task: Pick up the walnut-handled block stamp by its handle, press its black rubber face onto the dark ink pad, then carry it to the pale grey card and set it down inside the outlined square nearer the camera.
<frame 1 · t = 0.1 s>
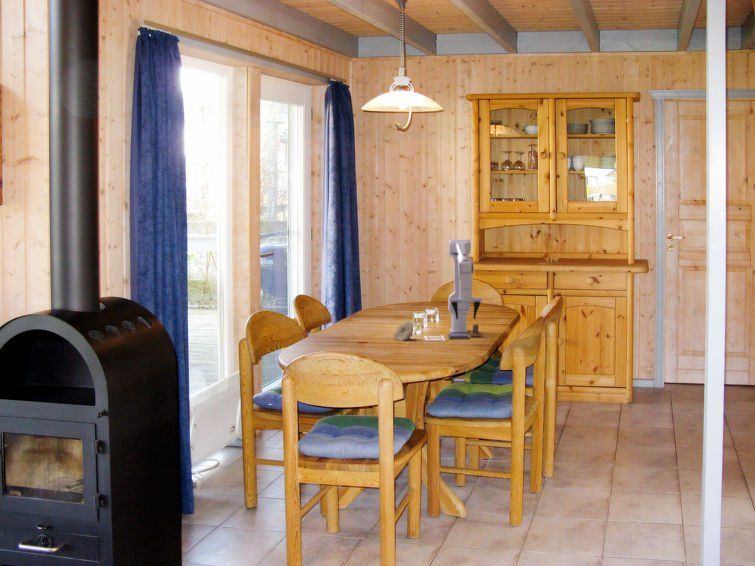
hand: (465, 318, 417), 10 cm above the table, fingers open, 7 cm apart
ink pad: (458, 337, 428), on the table
sheet: (434, 338, 426), on the table
stone: (403, 339, 425), on the table
stamp: (475, 336, 430), on the table
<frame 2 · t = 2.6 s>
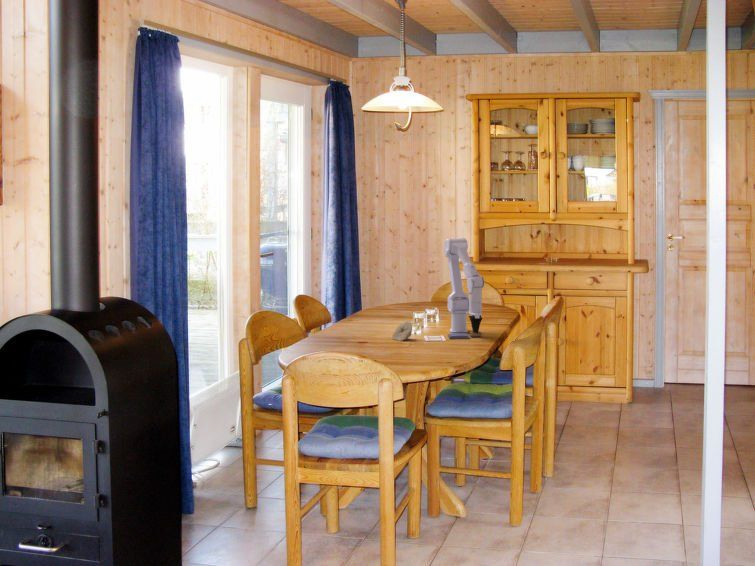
hand: (475, 331, 429), 2 cm above the table, fingers closed on stamp, 3 cm apart
stamp: (475, 336, 430), on the table, touching gripper
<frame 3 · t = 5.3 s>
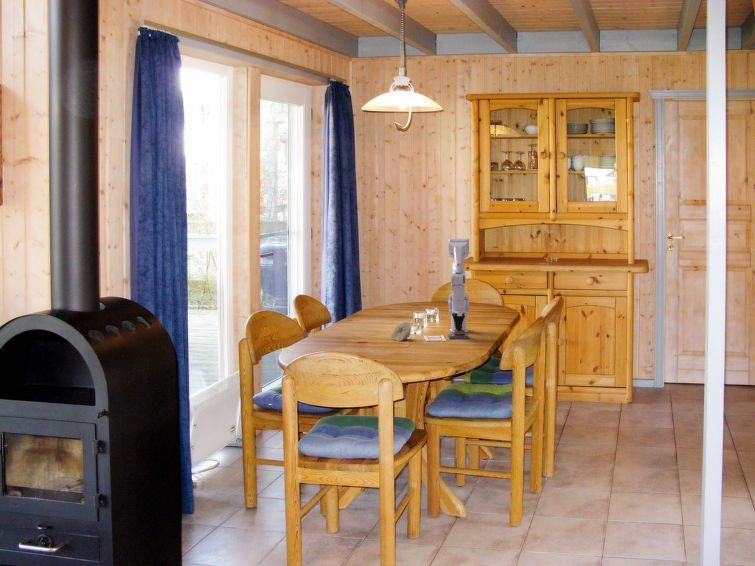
hand: (458, 329, 428), 4 cm above the table, fingers closed on stamp, 3 cm apart
stamp: (459, 334, 428), point 1 cm above the table, touching gripper, ink pad
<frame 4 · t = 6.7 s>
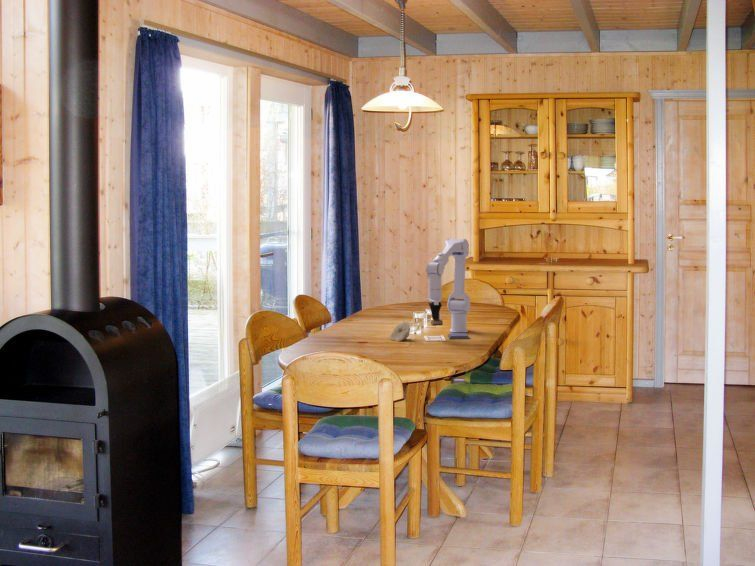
hand: (435, 319, 421), 9 cm above the table, fingers closed on stamp, 3 cm apart
stamp: (436, 324, 422), point 7 cm above the table, touching gripper
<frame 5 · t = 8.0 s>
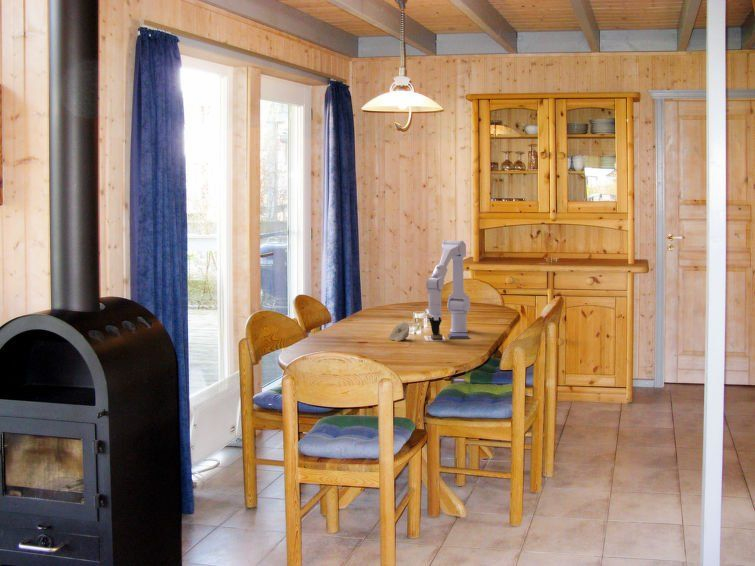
hand: (435, 334, 422), 3 cm above the table, fingers closed on stamp, 3 cm apart
stamp: (436, 339, 422), resting on sheet, touching gripper
when the fingers open (3 cm above the table, at t = 9.2 s): stamp stays where it is, resting on sheet.
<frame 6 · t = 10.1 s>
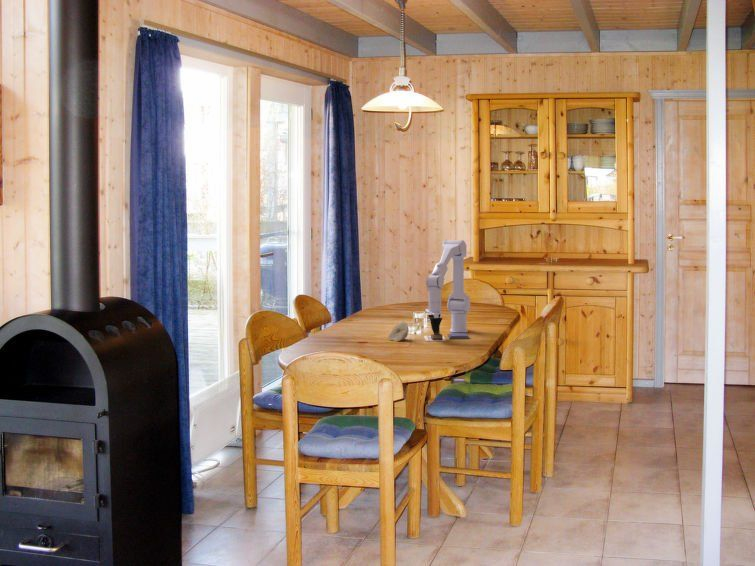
hand: (435, 331, 422), 4 cm above the table, fingers open, 7 cm apart
stamp: (436, 339, 422), resting on sheet
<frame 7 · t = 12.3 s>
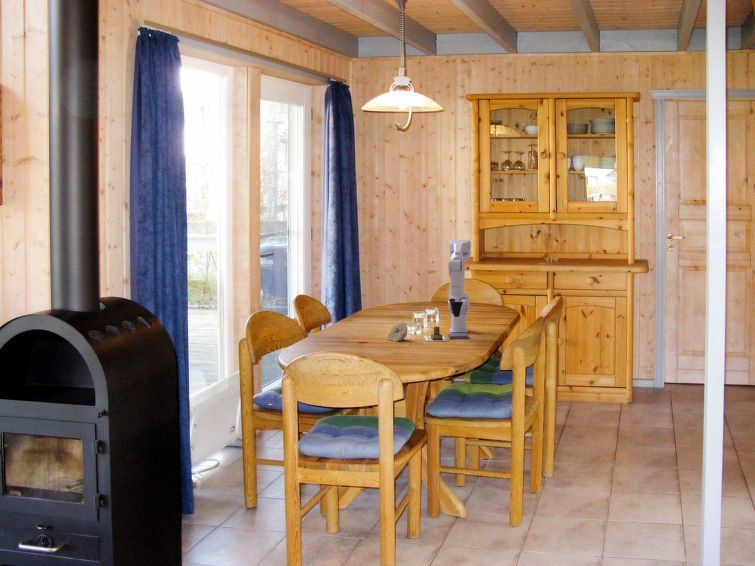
hand: (455, 315, 428), 10 cm above the table, fingers open, 7 cm apart
at the end: stamp 0.8 cm from the target spot on the sheet, point 0.3 cm above the sheet's base; stamp tilted 1°; the gripper is holding nothing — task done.
